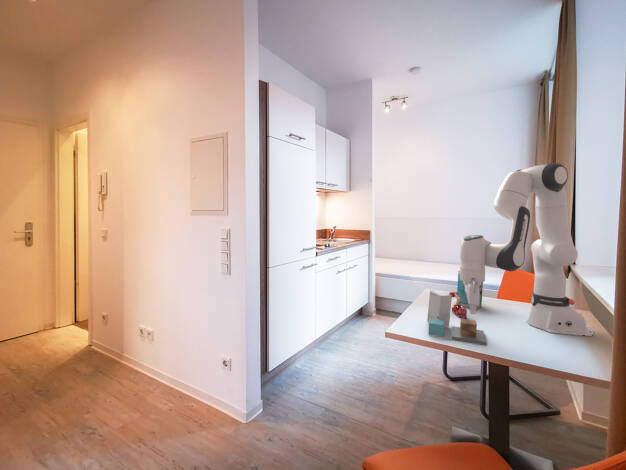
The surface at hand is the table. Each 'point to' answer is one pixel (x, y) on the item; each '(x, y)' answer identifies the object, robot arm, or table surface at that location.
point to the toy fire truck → (458, 310)
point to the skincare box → (439, 306)
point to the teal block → (436, 327)
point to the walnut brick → (468, 327)
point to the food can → (463, 295)
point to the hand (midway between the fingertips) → (471, 309)
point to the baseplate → (478, 339)
